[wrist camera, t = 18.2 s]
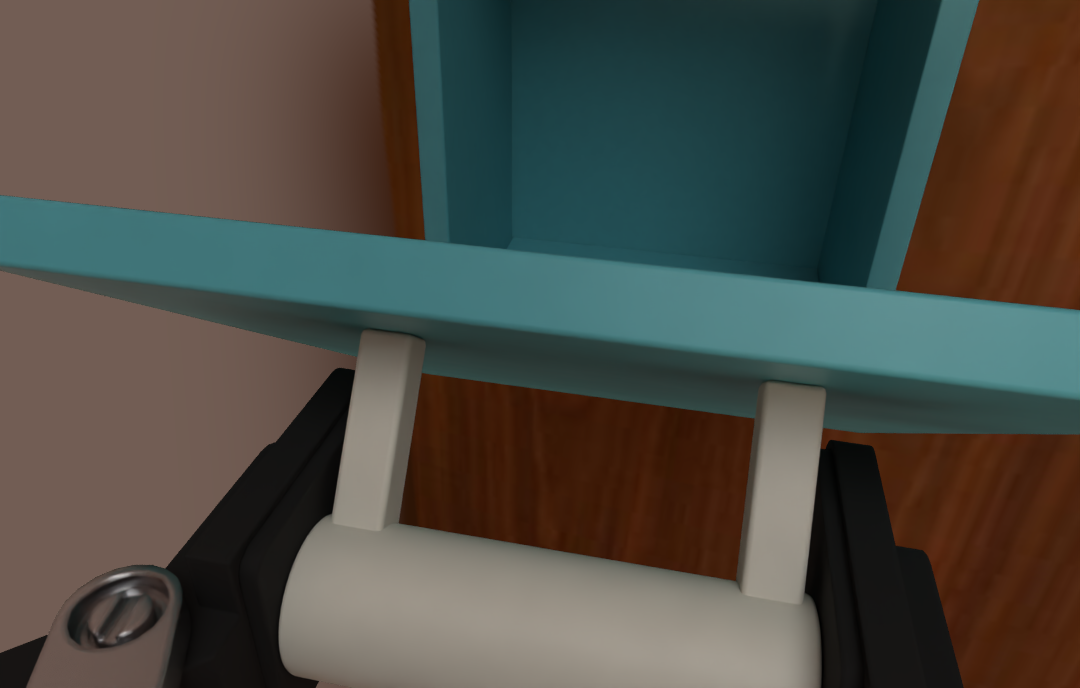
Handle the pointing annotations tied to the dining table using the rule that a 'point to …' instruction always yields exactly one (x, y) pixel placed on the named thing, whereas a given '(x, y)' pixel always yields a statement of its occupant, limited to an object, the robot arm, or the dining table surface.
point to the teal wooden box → (686, 129)
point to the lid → (579, 368)
